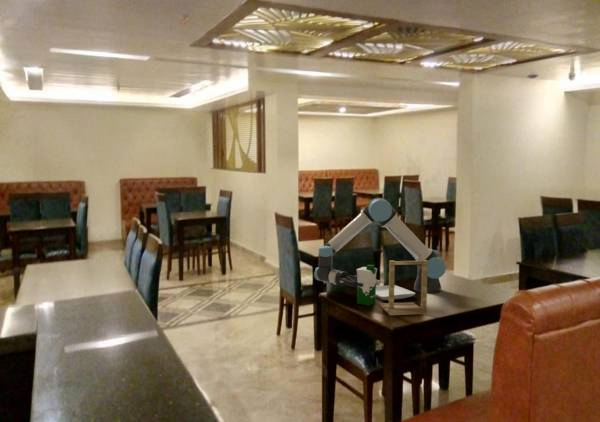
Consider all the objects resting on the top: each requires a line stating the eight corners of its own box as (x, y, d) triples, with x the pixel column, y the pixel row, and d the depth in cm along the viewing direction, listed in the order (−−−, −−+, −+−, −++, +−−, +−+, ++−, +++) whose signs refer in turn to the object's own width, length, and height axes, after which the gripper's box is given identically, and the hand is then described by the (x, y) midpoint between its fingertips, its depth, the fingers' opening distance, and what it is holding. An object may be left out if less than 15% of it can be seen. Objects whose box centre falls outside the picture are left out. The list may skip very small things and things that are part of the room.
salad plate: (362, 293, 268) (362, 287, 267) (394, 290, 275) (395, 284, 275) (381, 303, 248) (381, 296, 248) (416, 299, 255) (416, 292, 255)
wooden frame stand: (379, 304, 244) (380, 254, 241) (413, 303, 246) (414, 254, 244) (389, 315, 226) (391, 261, 224) (426, 314, 228) (428, 260, 226)
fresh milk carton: (370, 306, 240) (370, 267, 238) (354, 303, 245) (354, 265, 243) (378, 302, 247) (378, 264, 245) (362, 299, 252) (362, 262, 250)
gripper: (350, 281, 265) (385, 288, 250) (326, 287, 250) (361, 295, 235) (351, 267, 265) (386, 274, 249) (326, 273, 249) (362, 280, 234)
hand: (374, 284), depth 242 cm, fingers closed on fresh milk carton, 8 cm apart
